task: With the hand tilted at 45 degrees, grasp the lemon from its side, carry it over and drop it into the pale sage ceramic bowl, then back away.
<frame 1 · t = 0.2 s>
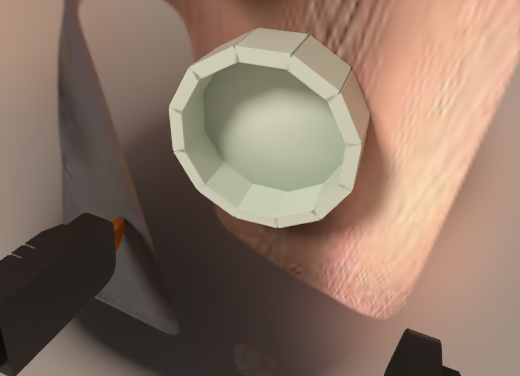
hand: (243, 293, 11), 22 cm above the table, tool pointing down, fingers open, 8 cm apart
bowl: (277, 121, 33), on the table
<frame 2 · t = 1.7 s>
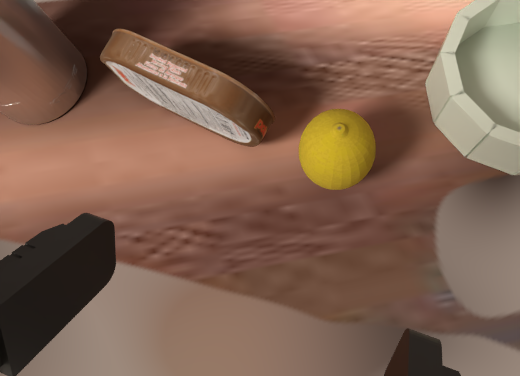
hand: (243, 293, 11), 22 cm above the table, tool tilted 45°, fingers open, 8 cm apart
tin: (199, 115, 38), on the table
bowl: (516, 92, 34), on the table
lemon: (333, 169, 35), on the table
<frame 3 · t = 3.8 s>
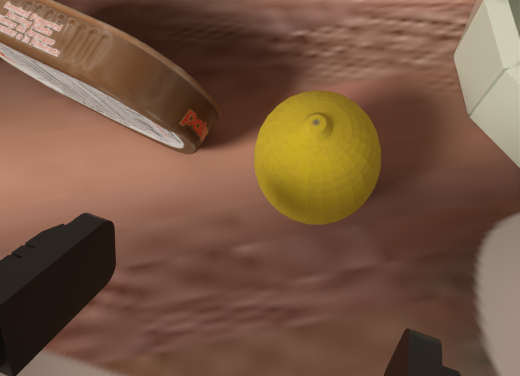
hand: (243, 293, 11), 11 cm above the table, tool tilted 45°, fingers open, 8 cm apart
tin: (120, 107, 26), on the table
lemon: (315, 187, 23), on the table
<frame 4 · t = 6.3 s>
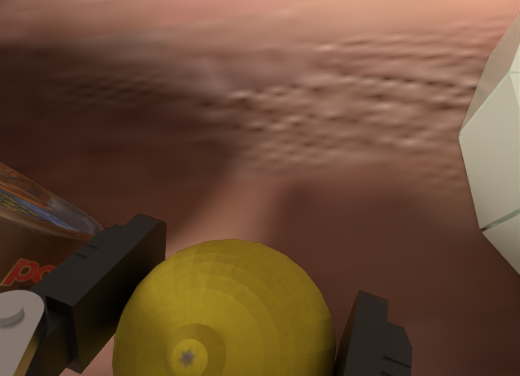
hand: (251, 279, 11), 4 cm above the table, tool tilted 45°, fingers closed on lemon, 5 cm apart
lemon: (253, 335, 15), on the table, touching gripper
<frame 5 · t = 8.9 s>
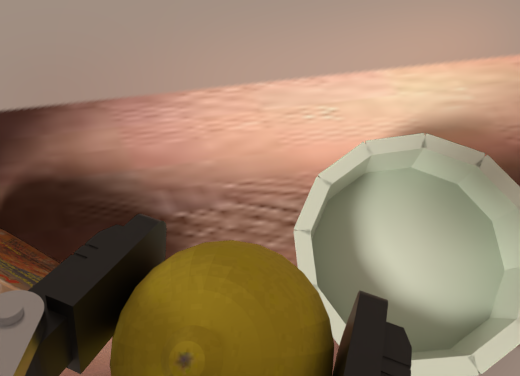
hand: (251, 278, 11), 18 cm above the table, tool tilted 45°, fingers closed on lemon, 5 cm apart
tin: (38, 274, 32), on the table
bowl: (401, 256, 29), on the table
lemon: (251, 336, 15), point 14 cm above the table, touching gripper
when the fingers open (9 cm above the table, at t = 12.1 s): lemon drops 3 cm, resting on bowl.
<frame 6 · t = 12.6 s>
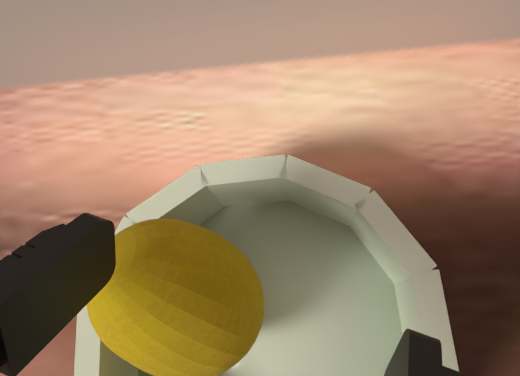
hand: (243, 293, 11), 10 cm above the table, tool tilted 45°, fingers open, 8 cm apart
bowl: (267, 330, 20), on the table
lemon: (252, 331, 18), point 2 cm above the table, touching bowl
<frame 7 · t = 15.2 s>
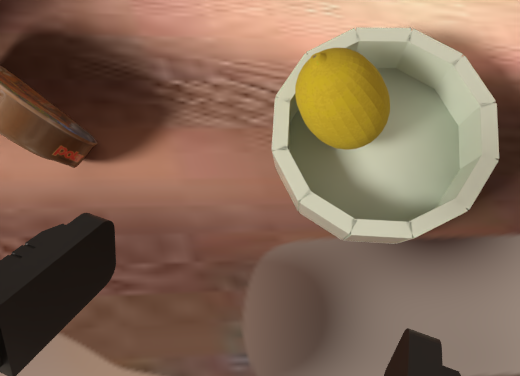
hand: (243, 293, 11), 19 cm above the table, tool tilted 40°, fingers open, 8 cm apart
tin: (38, 118, 34), on the table
bowl: (370, 147, 31), on the table
lemon: (367, 140, 30), point 2 cm above the table, touching bowl
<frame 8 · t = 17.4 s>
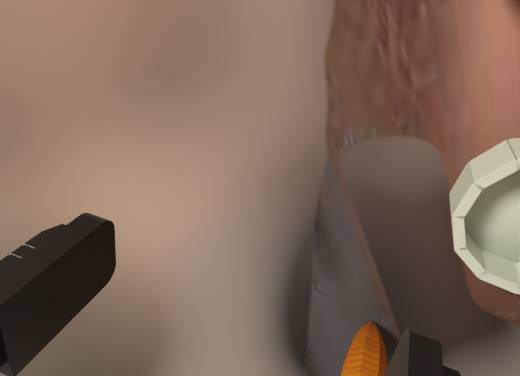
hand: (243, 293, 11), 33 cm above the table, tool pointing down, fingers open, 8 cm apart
carrot: (371, 321, 53), on the table
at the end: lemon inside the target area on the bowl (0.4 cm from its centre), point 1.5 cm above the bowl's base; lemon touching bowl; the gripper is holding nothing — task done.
